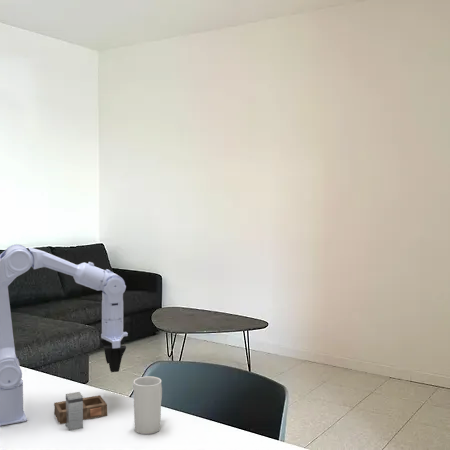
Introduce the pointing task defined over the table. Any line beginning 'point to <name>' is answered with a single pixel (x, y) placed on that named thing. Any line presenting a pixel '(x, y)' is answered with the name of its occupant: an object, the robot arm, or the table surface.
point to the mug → (147, 404)
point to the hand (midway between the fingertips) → (112, 367)
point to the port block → (91, 409)
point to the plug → (74, 411)
